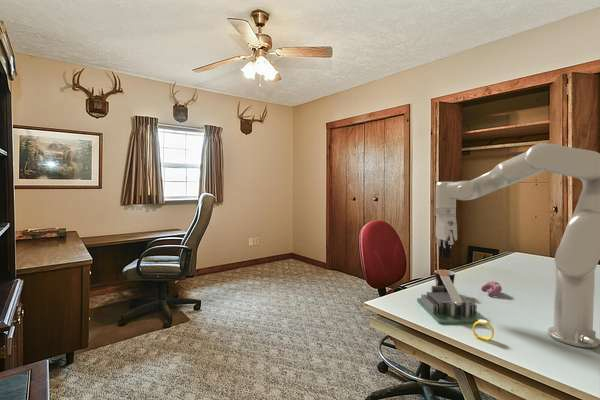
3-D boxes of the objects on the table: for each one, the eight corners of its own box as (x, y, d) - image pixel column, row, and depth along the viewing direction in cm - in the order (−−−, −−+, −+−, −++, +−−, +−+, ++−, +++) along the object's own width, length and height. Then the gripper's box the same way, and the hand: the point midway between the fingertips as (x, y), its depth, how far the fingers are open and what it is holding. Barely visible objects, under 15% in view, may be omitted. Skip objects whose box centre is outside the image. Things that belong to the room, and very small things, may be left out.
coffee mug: (435, 289, 151) (435, 269, 151) (455, 292, 147) (455, 271, 146) (432, 296, 141) (432, 274, 141) (453, 300, 137) (453, 277, 137)
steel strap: (463, 306, 116) (464, 304, 115) (455, 306, 116) (456, 304, 115) (445, 271, 131) (445, 269, 130) (437, 271, 131) (438, 269, 130)
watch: (472, 338, 103) (471, 320, 103) (473, 335, 105) (472, 317, 105) (493, 342, 99) (492, 323, 99) (494, 339, 102) (493, 320, 102)
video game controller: (497, 301, 140) (505, 287, 139) (487, 295, 141) (495, 282, 140) (489, 293, 150) (496, 281, 149) (479, 288, 150) (487, 276, 149)
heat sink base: (486, 323, 113) (486, 304, 113) (439, 323, 113) (439, 304, 113) (456, 301, 135) (456, 285, 135) (417, 301, 135) (417, 285, 135)
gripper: (464, 213, 119) (464, 261, 119) (445, 210, 134) (445, 253, 135) (444, 213, 119) (444, 261, 120) (428, 210, 135) (427, 253, 135)
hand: (444, 256), depth 127 cm, fingers closed
